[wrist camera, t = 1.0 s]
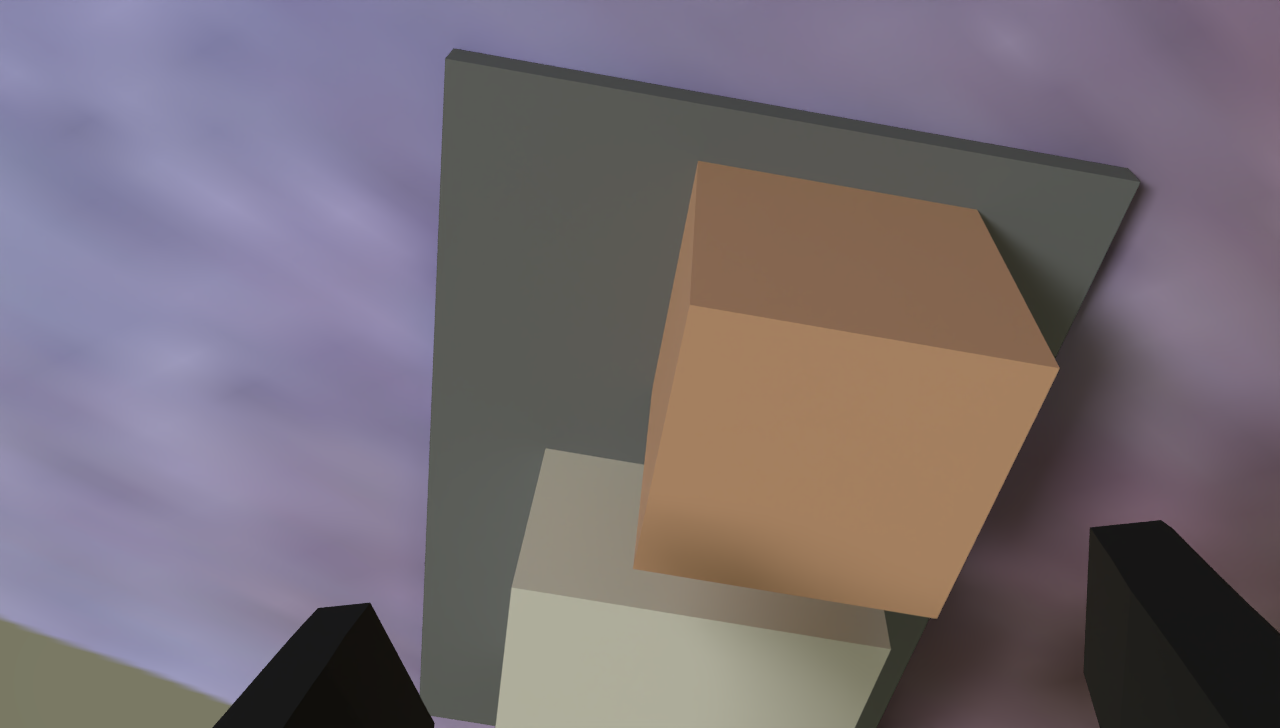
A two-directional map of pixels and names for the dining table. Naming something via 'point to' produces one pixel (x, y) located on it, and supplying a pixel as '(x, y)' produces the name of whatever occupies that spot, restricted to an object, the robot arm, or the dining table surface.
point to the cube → (833, 393)
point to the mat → (644, 296)
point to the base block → (663, 628)
